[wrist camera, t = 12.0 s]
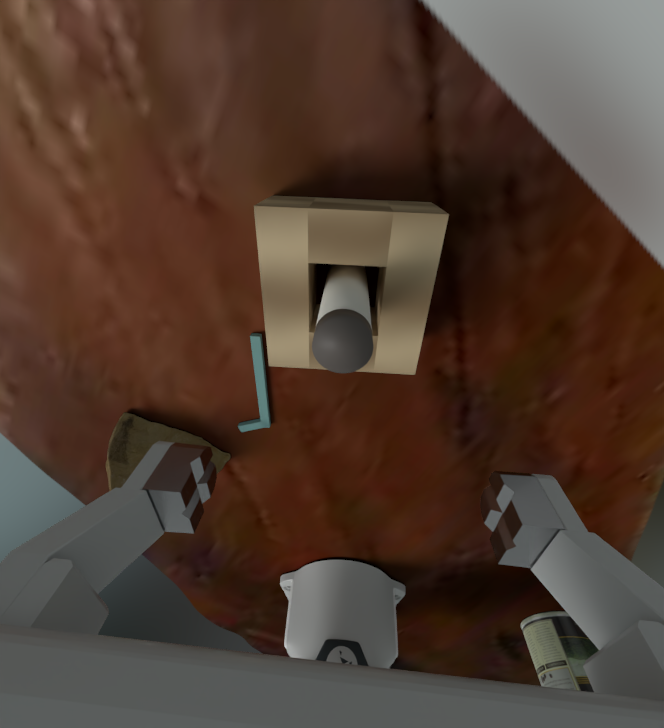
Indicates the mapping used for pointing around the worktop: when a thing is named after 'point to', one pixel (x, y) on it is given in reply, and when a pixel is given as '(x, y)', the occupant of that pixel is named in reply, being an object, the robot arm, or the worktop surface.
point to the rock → (145, 446)
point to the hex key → (258, 387)
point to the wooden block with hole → (348, 247)
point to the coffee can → (558, 650)
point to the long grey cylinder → (344, 321)
